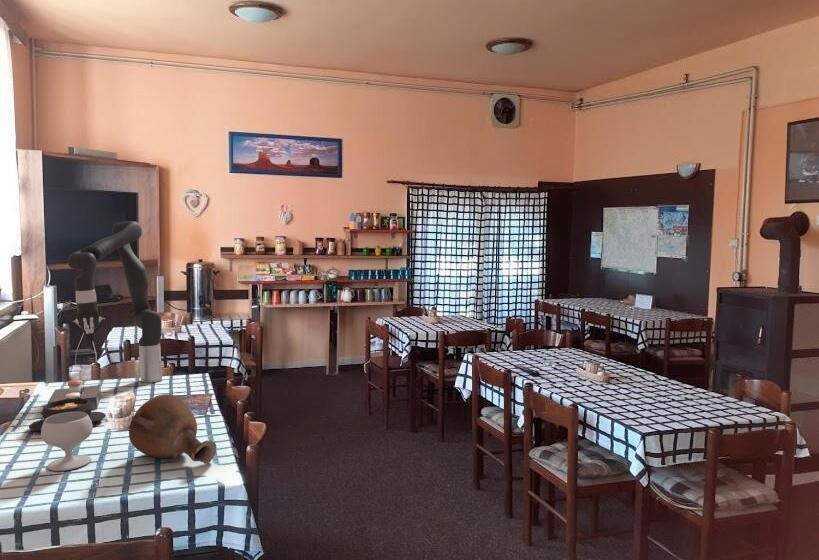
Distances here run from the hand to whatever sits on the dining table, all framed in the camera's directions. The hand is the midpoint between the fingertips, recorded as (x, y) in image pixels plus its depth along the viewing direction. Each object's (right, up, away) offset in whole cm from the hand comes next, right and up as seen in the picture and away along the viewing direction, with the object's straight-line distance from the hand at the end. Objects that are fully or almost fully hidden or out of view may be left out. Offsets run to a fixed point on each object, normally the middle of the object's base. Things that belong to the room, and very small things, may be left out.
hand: (90, 342), depth 259 cm
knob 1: (-2, -26, -10) cm, 28 cm away
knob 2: (-7, -25, +3) cm, 26 cm away
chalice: (+27, -32, -66) cm, 78 cm away
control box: (-5, -26, -3) cm, 26 cm away
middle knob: (-5, -22, -4) cm, 22 cm away
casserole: (+6, -28, -29) cm, 41 cm away
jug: (+59, -31, -62) cm, 91 cm away
